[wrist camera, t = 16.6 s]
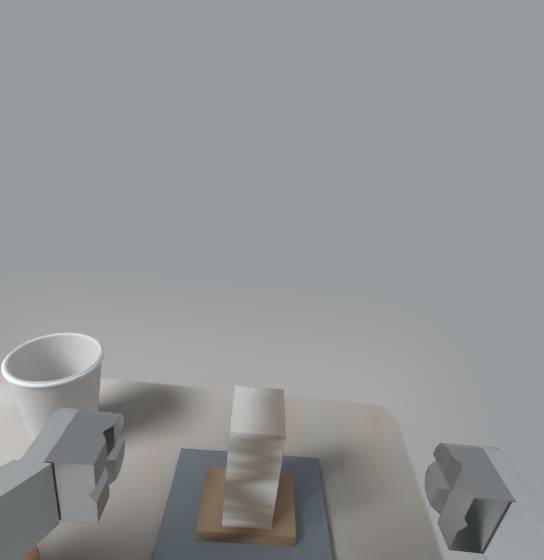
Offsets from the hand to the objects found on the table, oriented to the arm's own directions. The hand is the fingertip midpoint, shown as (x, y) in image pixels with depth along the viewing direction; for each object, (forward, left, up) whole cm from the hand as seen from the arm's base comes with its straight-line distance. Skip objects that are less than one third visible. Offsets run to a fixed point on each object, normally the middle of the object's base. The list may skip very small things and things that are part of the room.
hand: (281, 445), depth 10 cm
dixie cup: (-19, +23, -25) cm, 39 cm away
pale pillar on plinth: (0, +16, -24) cm, 29 cm away
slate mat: (0, +16, -25) cm, 29 cm away
